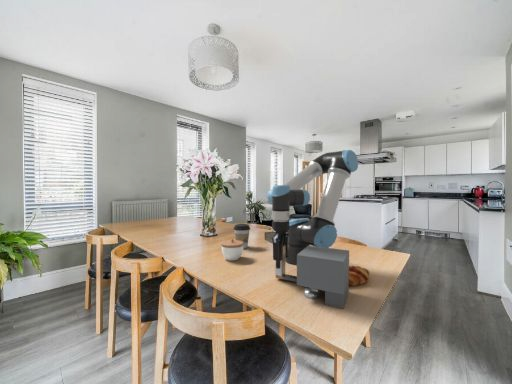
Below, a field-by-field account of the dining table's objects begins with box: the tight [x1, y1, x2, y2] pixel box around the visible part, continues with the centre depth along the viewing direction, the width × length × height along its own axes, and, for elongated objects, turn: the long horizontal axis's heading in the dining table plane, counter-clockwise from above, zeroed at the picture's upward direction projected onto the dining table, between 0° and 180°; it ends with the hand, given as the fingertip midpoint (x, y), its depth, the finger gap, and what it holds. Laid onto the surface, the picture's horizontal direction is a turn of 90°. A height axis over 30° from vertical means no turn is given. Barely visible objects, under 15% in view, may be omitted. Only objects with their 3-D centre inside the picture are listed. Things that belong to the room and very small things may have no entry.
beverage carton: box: [264, 230, 276, 244], centre depth 171 cm, size 8×19×7 cm, turn 24°
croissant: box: [349, 265, 370, 287], centre depth 101 cm, size 21×10×8 cm, turn 130°
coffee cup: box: [233, 223, 251, 250], centre depth 156 cm, size 11×11×15 cm
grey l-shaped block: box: [296, 245, 350, 310], centre depth 88 cm, size 17×15×16 cm
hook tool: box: [275, 245, 325, 294], centre depth 96 cm, size 22×8×14 cm, turn 61°
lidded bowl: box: [220, 238, 244, 261], centre depth 132 cm, size 13×13×11 cm
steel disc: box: [304, 287, 319, 300], centre depth 87 cm, size 5×5×2 cm
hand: (280, 273), depth 102 cm, fingers closed on hook tool, 3 cm apart
